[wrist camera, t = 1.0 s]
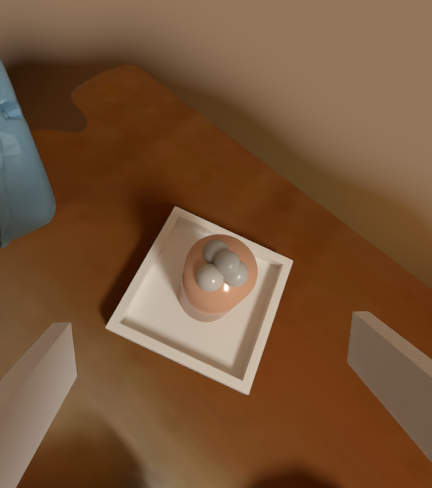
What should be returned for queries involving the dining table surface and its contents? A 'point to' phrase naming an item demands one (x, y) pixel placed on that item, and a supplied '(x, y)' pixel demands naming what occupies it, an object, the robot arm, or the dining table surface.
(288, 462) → the dining table surface
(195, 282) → the pebble cup
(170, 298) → the tray
